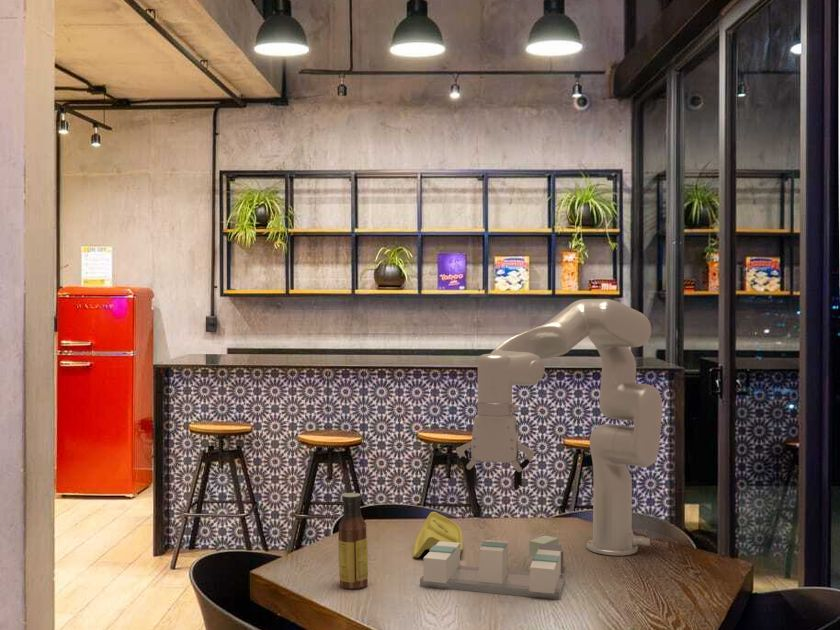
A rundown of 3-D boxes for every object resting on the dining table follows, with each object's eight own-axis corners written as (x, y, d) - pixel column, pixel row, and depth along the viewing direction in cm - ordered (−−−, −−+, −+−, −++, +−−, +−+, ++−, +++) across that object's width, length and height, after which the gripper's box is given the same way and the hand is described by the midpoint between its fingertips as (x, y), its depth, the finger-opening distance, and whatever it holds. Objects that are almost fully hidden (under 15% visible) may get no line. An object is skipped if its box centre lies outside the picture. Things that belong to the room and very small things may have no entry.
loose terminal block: (558, 554, 207) (558, 538, 207) (543, 560, 202) (543, 543, 202) (544, 551, 210) (544, 535, 210) (529, 557, 204) (529, 540, 204)
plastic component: (462, 551, 200) (425, 533, 200) (449, 578, 200) (411, 560, 200) (461, 525, 220) (427, 508, 220) (449, 549, 220) (415, 532, 220)
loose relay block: (560, 566, 197) (561, 544, 197) (562, 573, 191) (563, 551, 191) (539, 565, 198) (539, 544, 198) (541, 572, 192) (541, 551, 192)
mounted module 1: (460, 564, 192) (460, 541, 192) (446, 583, 178) (446, 558, 178) (438, 562, 193) (438, 539, 193) (423, 581, 180) (423, 556, 180)
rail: (564, 582, 185) (564, 575, 185) (559, 599, 173) (559, 592, 173) (433, 570, 193) (433, 563, 193) (420, 586, 181) (420, 579, 181)
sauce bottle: (366, 580, 184) (367, 490, 185) (369, 589, 178) (370, 496, 178) (336, 581, 183) (337, 491, 183) (338, 591, 177) (339, 497, 177)
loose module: (508, 572, 186) (508, 540, 186) (502, 583, 178) (502, 549, 178) (485, 570, 187) (486, 538, 187) (478, 581, 180) (479, 547, 180)
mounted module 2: (560, 573, 186) (561, 549, 186) (554, 593, 172) (554, 567, 172) (538, 571, 187) (538, 547, 187) (529, 591, 174) (529, 565, 174)
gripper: (536, 409, 184) (536, 486, 184) (460, 406, 189) (460, 482, 189) (531, 413, 177) (532, 493, 177) (452, 410, 182) (452, 489, 182)
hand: (494, 487), depth 183 cm, fingers open, 9 cm apart
